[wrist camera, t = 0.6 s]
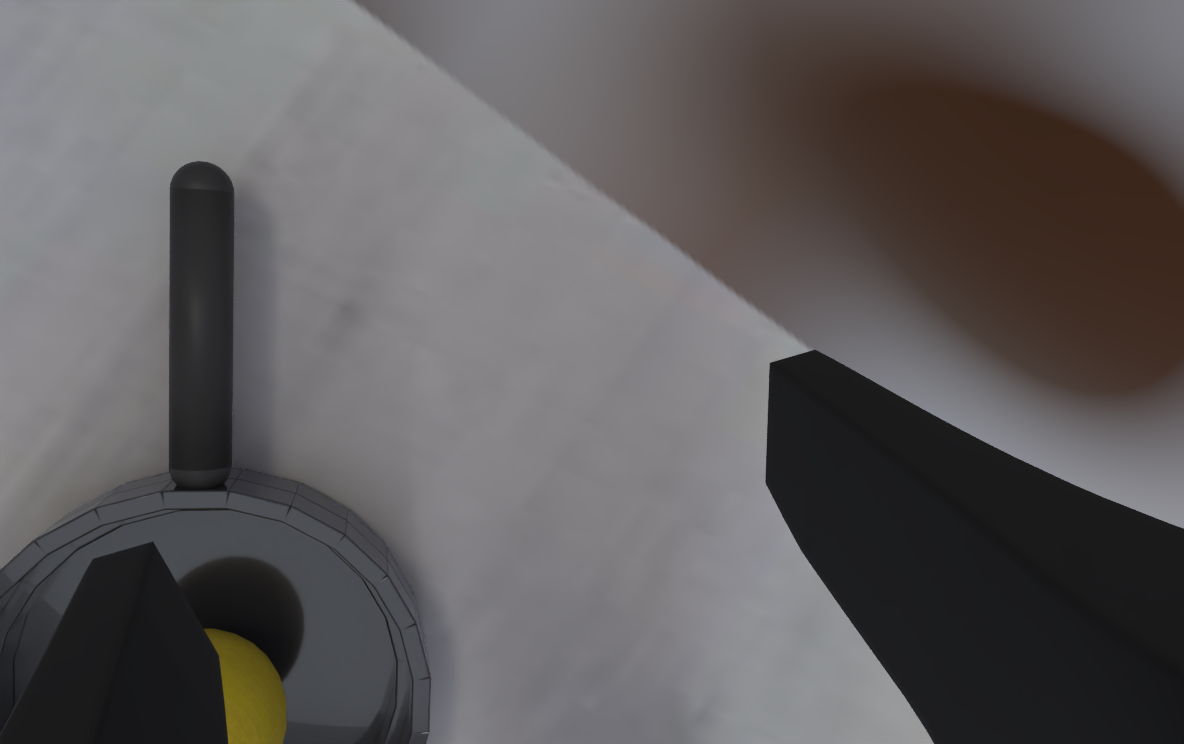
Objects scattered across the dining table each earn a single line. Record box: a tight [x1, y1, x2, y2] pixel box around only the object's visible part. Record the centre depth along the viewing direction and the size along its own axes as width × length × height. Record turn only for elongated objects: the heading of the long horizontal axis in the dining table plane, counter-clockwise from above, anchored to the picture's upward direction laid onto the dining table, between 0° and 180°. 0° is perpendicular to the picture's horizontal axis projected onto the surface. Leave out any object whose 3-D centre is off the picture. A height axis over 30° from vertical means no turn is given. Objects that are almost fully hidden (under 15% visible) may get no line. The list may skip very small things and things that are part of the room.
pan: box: [0, 469, 431, 744], centre depth 31 cm, size 14×14×4 cm
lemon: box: [204, 629, 287, 744], centre depth 28 cm, size 6×6×8 cm
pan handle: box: [169, 161, 234, 489], centre depth 29 cm, size 10×2×2 cm, turn 177°
